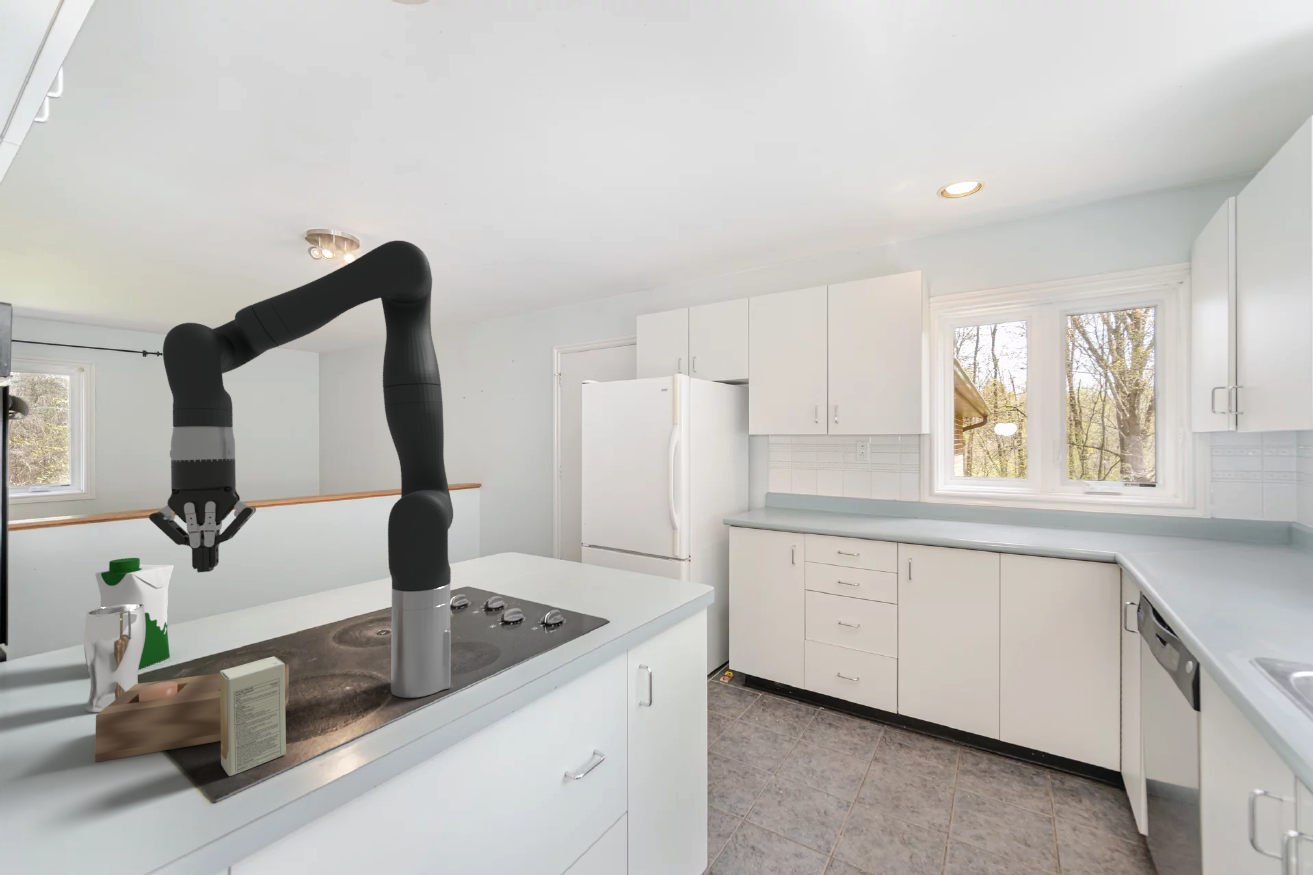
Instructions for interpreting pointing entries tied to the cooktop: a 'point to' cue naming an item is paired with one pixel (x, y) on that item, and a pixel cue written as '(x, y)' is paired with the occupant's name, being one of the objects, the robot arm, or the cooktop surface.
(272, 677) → the skincare box
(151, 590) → the milk carton
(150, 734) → the walnut block
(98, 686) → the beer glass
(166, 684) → the tan rounded oval piece
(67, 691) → the cooktop surface
